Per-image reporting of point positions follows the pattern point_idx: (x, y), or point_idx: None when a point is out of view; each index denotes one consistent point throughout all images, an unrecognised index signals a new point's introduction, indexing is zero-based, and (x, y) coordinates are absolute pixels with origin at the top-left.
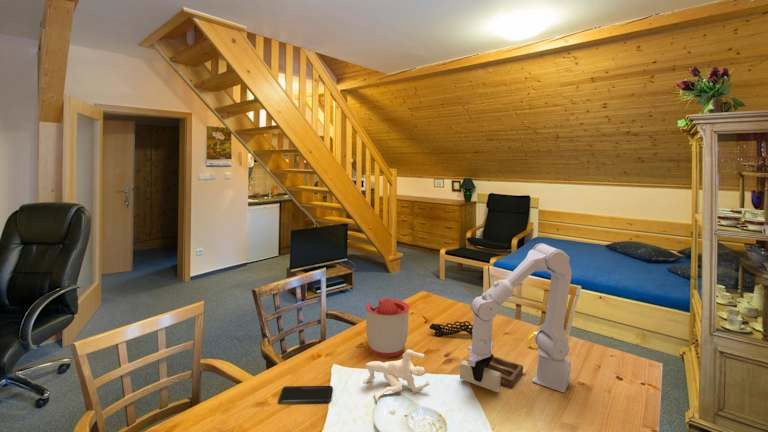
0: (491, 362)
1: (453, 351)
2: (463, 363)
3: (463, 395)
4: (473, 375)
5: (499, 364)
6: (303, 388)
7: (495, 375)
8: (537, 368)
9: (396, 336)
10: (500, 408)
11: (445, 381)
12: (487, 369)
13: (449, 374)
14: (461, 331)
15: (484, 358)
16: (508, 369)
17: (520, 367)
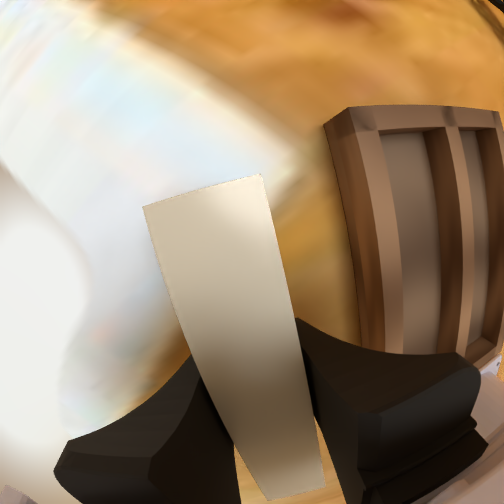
0: (484, 210)
1: (414, 5)
2: (175, 235)
3: (106, 314)
4: (188, 360)
5: (489, 250)
6: None
7: (266, 494)
8: (486, 408)
9: None
10: None
11: (119, 139)
12: (296, 449)
13: (209, 91)
14: (498, 8)
15: (348, 485)
16: (460, 352)
17: (488, 358)
